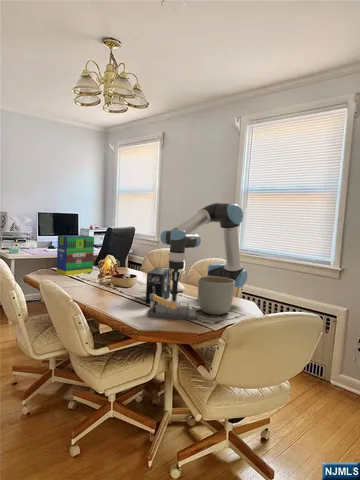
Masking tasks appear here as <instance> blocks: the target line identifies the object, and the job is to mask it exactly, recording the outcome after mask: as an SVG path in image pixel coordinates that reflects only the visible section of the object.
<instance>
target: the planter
mask: <svg viewBox="0 0 360 480" xmlns="http://www.w3.org/2000/svg"><path fill="white" fill-rule="evenodd" d="M235 288H236V287H235V281H234V280H233V279H230V278H226V277H219V276H207V275H202V276H199V277H198V278H197V301H198V302H197V304H198V307H199V308H200V310H201V311H202V312H204V313H205V314H207V315H214V316H221V315H225V314H226V313H228V312H229V311H230V310H231V308H232V304H233V300H234V294H235Z"/></svg>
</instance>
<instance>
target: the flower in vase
mask: <svg viewBox="0 0 360 480" xmlns="http://www.w3.org/2000/svg"><path fill="white" fill-rule="evenodd" d="M169 261H170V259H169V258H168V260H167V262H168V263H169ZM178 272H180V274H181V273H182V271H180V270H178ZM172 285H173V283H172V284H170V291H172ZM185 290H186V288H185V286H184V285H183V284H182V283H181V282H180V280H179V281H178V286H177V292H183V291H185Z"/></svg>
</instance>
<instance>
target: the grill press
mask: <svg viewBox="0 0 360 480" xmlns="http://www.w3.org/2000/svg"><path fill="white" fill-rule="evenodd" d="M169 301H170V302H171V300H169ZM176 304H177V306H176V309H172V308H170V307H168V306H165V305H163V304H161V303H159V302H157V303H156V305H155V300H151V302H150V304H149V305H150V307H149V309H148V314H147V318H152V319H153V318H154V319H155V318H156V319H167V320H169V319H170V320H182V321H183V320H184V321H185V320H186V321H197V314H196V309H195V308H190V302H189V301H177V303H176Z"/></svg>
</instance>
